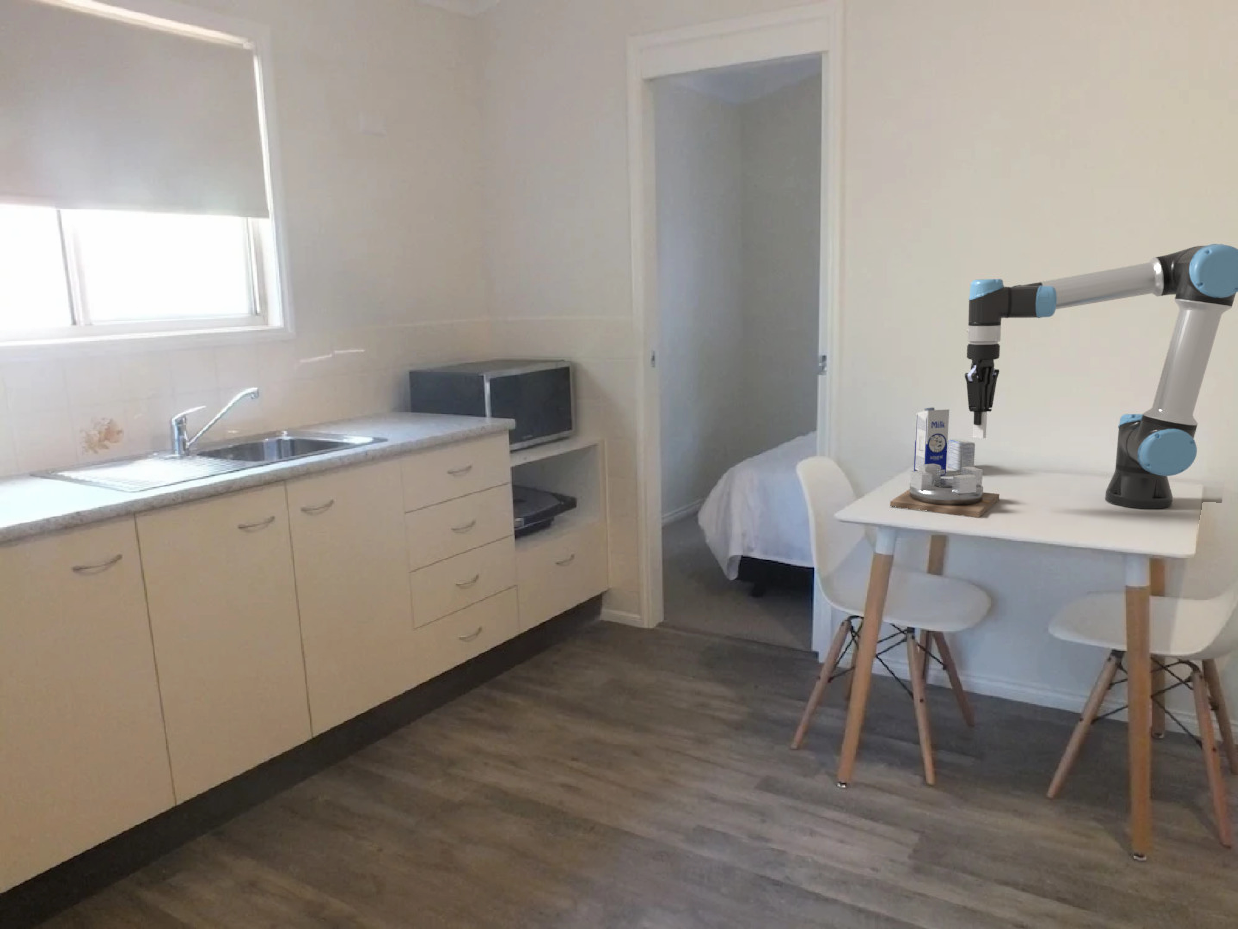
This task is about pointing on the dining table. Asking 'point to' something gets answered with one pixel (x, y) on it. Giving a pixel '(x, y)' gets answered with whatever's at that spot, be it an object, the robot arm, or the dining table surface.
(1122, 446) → the robot arm
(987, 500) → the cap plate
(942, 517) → the dining table surface
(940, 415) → the milk carton
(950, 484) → the notched metal disc
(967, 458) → the medicine box
